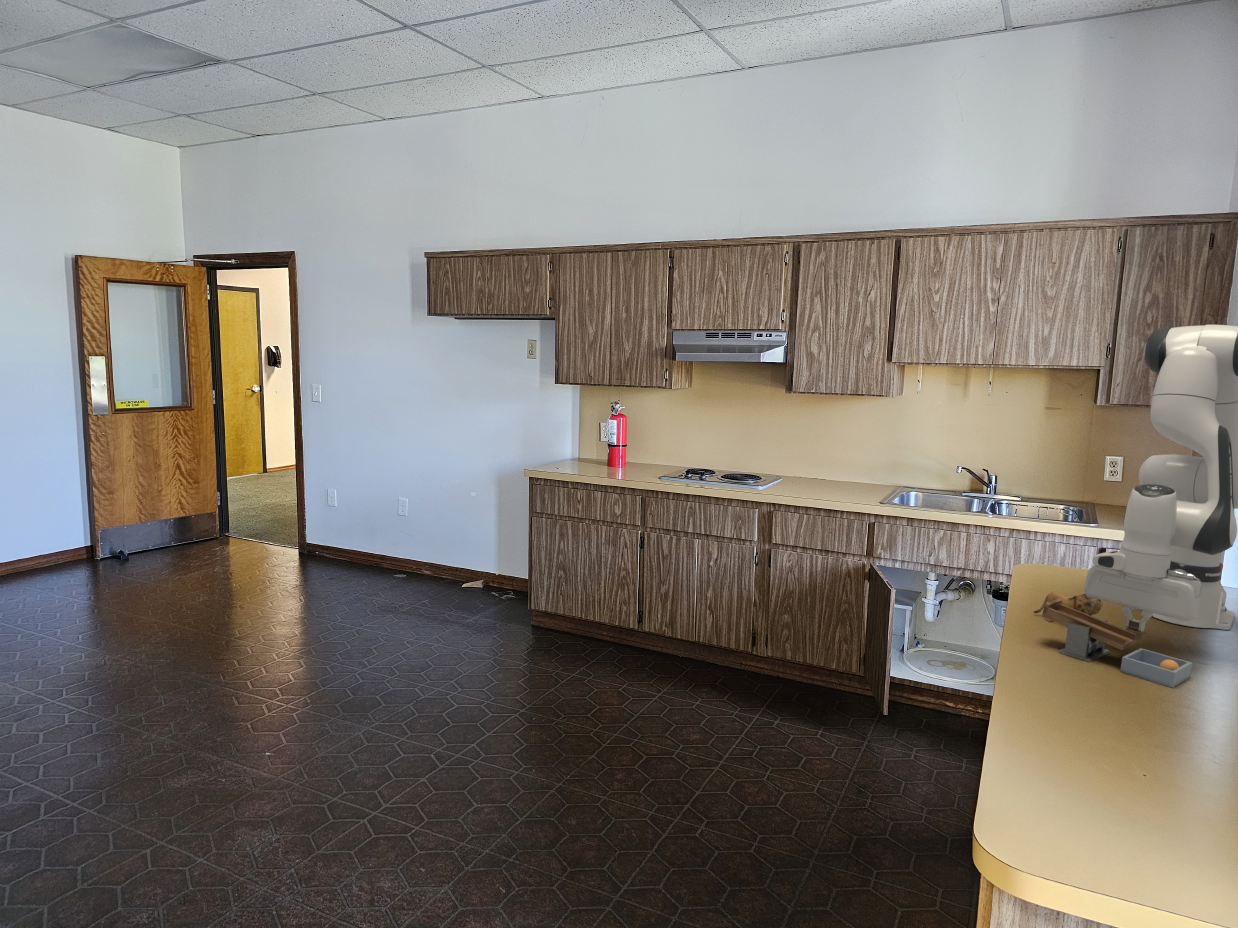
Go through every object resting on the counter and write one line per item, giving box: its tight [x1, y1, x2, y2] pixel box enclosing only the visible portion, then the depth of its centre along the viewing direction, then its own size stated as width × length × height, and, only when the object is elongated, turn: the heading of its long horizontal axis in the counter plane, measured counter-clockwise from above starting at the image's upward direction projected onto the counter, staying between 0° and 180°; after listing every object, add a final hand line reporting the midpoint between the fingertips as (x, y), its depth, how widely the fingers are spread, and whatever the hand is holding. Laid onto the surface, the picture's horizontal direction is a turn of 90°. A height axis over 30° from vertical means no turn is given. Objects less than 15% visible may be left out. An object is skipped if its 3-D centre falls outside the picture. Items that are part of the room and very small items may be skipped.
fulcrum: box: [1058, 616, 1110, 663], centre depth 167 cm, size 9×6×7 cm, turn 127°
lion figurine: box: [1032, 591, 1104, 623], centre depth 185 cm, size 15×5×9 cm, turn 35°
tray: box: [1119, 647, 1193, 689], centre depth 157 cm, size 9×9×3 cm
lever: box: [1041, 599, 1147, 651], centre depth 169 cm, size 13×16×3 cm
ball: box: [1160, 660, 1179, 671], centre depth 155 cm, size 3×3×3 cm
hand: (1134, 628), depth 167 cm, fingers closed
